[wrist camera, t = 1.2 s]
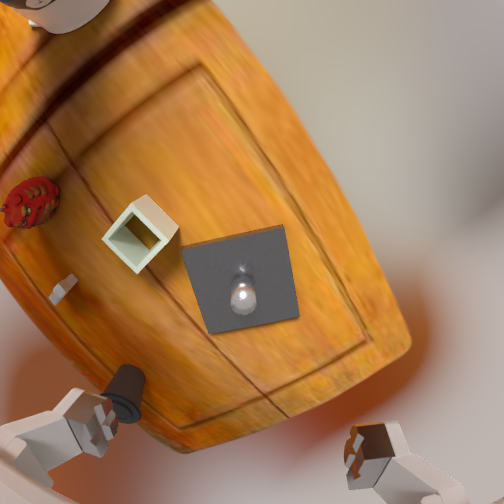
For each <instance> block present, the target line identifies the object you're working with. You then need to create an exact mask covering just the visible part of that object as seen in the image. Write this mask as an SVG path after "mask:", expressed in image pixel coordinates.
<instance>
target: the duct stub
mask: <svg viewBox="0 0 504 504" xmlns="http://www.w3.org/2000/svg"><path fill="white" fill-rule="evenodd" d="M181 253H182V256H183V260H184V263H185V266H186V269H187V272H188V275H189V278H190V281H191V284H192V287H193V290H194V293H195V296H196V299H197V302H198V305H199V308H200V311H201V313H202V316H203V319H204V322H205V325H206V328H207V330H208V333H209V334H212V333H218V332H224V331H229V330H235V329H240V328H246V327H251V326H256V325H261V324H266V323H271V322H276V321H281V320H286V319H290V318H295V317H299V316H300V315H299V309H298V303H297V297H296V291H295V285H294V279H293V274H292V268H291V262H290V257H289V251H288V246H287V240H286V235H285V230H284V226H283V224H282V225H277V226H273V227H268V228H263V229H259V230H254V231H249V232H245V233H240V234H236V235H231V236H227V237H222V238H217V239H213V240H209V241H204V242H200V243H195V244H191V245H186V246H182V248H181Z"/></svg>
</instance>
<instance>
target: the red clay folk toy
mask: <svg viewBox="0 0 504 504" xmlns="http://www.w3.org/2000/svg"><path fill="white" fill-rule="evenodd" d="M59 195H60V189H59V187H58V186H57V185H55V184H54V183H52V182H51V180H50V179H48V178H47V177H43V176H41V177H35V178H29V179H28V180H25V181H23V182H21V183H20V184H19V185H18V186H16V187H15V188H13V189H12V191H11V192H10V194H9V195H8V197H7V199H6V202H5V203H4V204H3V205H2V207H1V208H0V212H5V219H4V222H5V224H6V225H7V226H8V227H18V228H23V229H25V228H28V229H30V228H31V227H34V226H36V225H41V224H43V223H45V222H46V221H48V220H49V218H52V217H53V216H54V214H55V208H56V207H57V206H58V205H59Z"/></svg>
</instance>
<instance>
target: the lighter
mask: <svg viewBox="0 0 504 504" xmlns="http://www.w3.org/2000/svg"><path fill="white" fill-rule="evenodd" d="M77 282H78V279H77V278H76V277H75V276H74V275H73V273H71V274H70V275H69V276H68V277H67V278H66V279H63V280H62V281H61V282H59V283H58V284H57V285H56V286H55V287H54V289H53V293H52V294H51V295H50V296H49V300H50V301H51V302H52V303H53V304H54V305H57V303H58V302H59V301H60V300H61V299H62V298H63V297H64V296H65V295H66V294H67V293H68V292H69V291H70V290H71V288H72V287H73V286H74V285H75V284H76V283H77Z"/></svg>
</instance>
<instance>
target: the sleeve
mask: <svg viewBox="0 0 504 504" xmlns="http://www.w3.org/2000/svg"><path fill="white" fill-rule="evenodd" d="M134 215H136V216H137V217H138V218H139V219H140V220H141V221H142V222H143V223H144V224H145V225H146V226H147V227H148V228H149V229H150V230H151V231H152V232H153V233H154V234H155V235H156V236H157V237H158V238H159V239H160V240H159V241H158V242H157V243H156V244H155V245H154V246H153V247H152V248H151V249H150V250H149V249H148V248H147V247H146V246H145V245H144V244H143V243H142V242H141V241H140V240H139V239H138V238H137V237H136V236H135V235H134V234H133V233H132V232H131V231H130V230H129V229H128V228H127V227H126V226H125V225H126V224H127V223H128V221H129V220H130V219H131V218H132V217H133V216H134ZM178 228H179V226H178V225H177V224H176V223H175V222H174V221H173V220H172V219H171V218H170V217H169V216H168V215H167V214H166V213H165V212H164V211H163V210H162V209H161V208H160V207H159V206H158V205H157V204H156V203H155V202H154V201H153V200H152V199H151V198H150V197H149V196H148V195H147V194H145V195H144V196H142V197H140V198H139V199H137V200H135V201H134V202H132V203H131V204H130V205H129V206H128V207H127V209H126V210H125V211H124V212H123V213H122V214H121V216H120V217H119V218H118V219H117V220H116V222H115V223H114V224H113V225H112V226H111V228H110V229H109V230H108V231H107V233H106V234H105V235H104V236H103V238H102V240H103V241H104V242H105V243H106V244H107V245H108V246H109V247H110V248H111V249H112V250H113V251H114V252H115V253H116V254H117V255H118V256H119V257H120V258H121V259H122V260H123V261H124V262H125V263H126V264H127V265H128V266H129V267H130V268H131V269H132V270H133V271H134V272H135V273H136V274H138V273H139V272H140V271H141V270H142V269H143V268H144V267H145V265H146V264H147V263H148V262H149V261H150V260H151V259H152V258H153V257H154V256H155V255H156V254H157V253H158V252H159V251H160V250H161V249H162V248H163V247H164V246H165V245H166V244H167V243H168V242H169V241H170V240H171V238H172V237H173V235H174V234H175V232H176V231H177V229H178Z"/></svg>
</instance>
